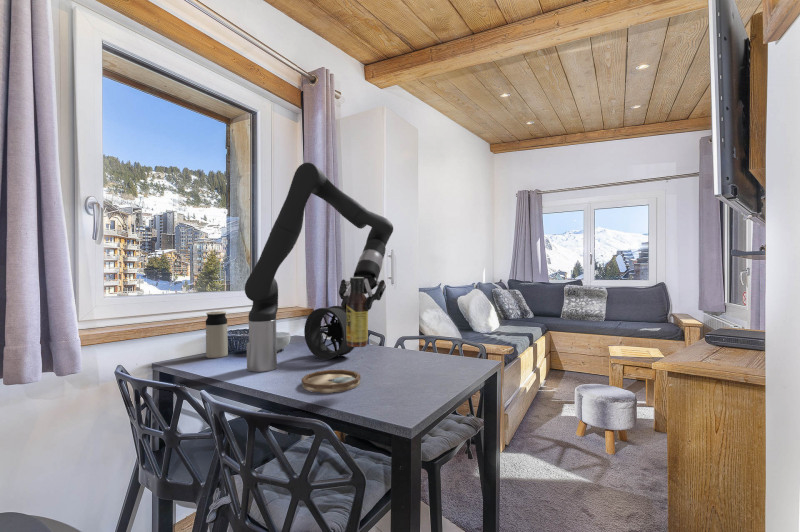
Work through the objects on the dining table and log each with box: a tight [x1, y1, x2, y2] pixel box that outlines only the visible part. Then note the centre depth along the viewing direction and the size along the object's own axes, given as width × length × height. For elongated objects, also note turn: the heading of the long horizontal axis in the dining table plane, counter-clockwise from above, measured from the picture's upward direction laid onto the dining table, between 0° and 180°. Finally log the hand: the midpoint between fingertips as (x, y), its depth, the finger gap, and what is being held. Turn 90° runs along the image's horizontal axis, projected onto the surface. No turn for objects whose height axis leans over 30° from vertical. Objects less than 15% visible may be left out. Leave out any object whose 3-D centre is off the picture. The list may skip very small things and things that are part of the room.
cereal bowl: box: [276, 331, 291, 352], centre depth 173 cm, size 17×17×7 cm
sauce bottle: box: [346, 276, 369, 348], centre depth 116 cm, size 7×6×20 cm
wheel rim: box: [303, 305, 355, 361], centre depth 158 cm, size 20×9×20 cm, turn 60°
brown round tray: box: [301, 369, 362, 394], centre depth 121 cm, size 17×17×2 cm
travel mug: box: [205, 310, 229, 359], centre depth 164 cm, size 8×8×18 cm
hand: (355, 309), depth 114 cm, fingers closed on sauce bottle, 6 cm apart
